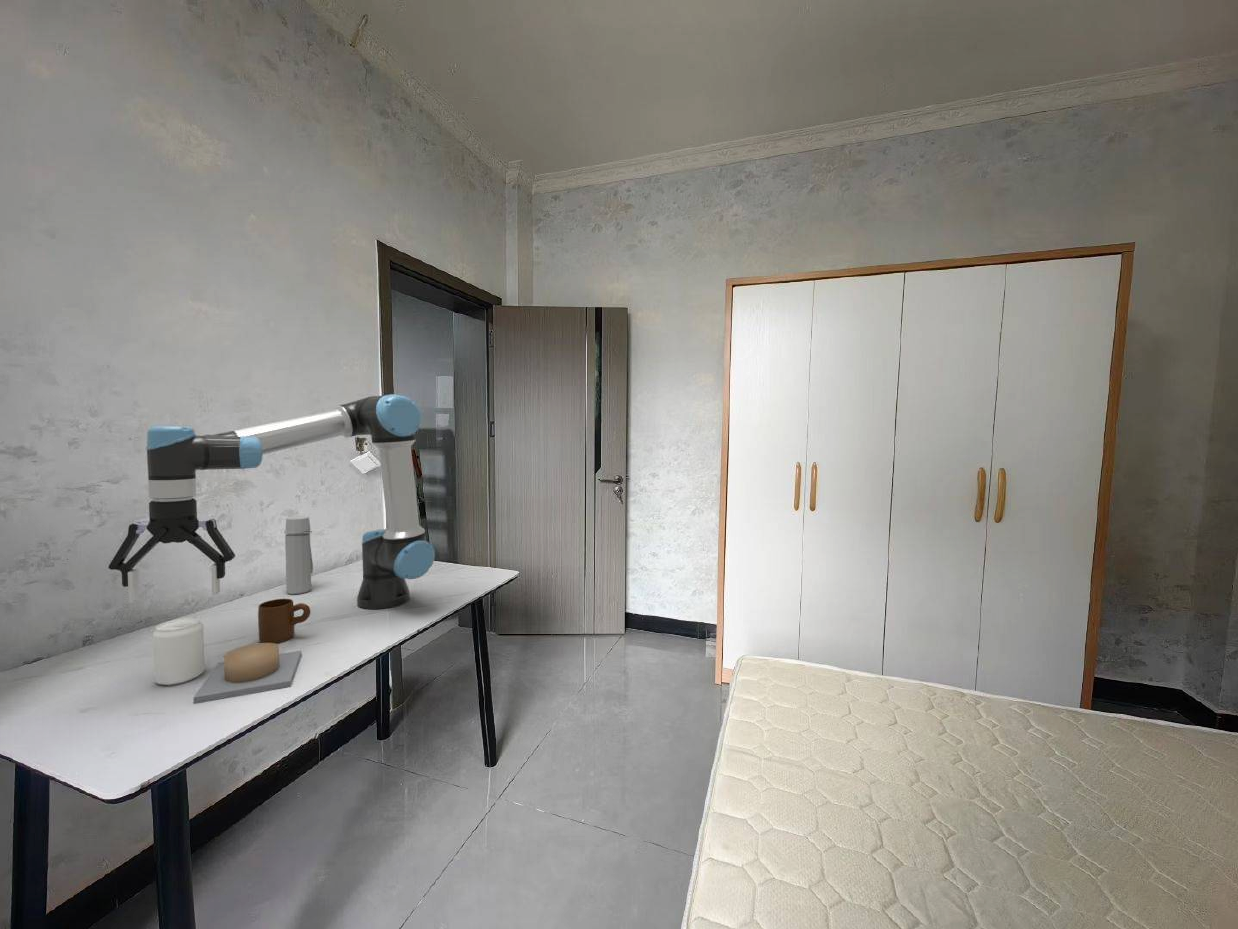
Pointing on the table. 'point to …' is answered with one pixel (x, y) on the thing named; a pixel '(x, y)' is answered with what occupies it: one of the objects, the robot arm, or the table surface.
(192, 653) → the beverage can
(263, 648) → the pedestal
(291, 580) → the water bottle
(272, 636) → the mug
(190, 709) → the table surface
